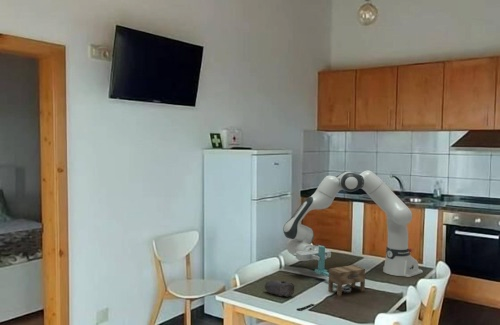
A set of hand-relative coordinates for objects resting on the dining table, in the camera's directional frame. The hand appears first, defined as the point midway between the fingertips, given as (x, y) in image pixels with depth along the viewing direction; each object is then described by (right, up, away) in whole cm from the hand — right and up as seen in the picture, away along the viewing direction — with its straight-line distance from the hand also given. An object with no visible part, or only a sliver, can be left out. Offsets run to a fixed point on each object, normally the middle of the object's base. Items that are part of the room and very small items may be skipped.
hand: (322, 258), depth 240 cm
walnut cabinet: (+9, -13, -16) cm, 22 cm away
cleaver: (-9, -14, -31) cm, 35 cm away
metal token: (+9, -13, -16) cm, 23 cm away
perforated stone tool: (-25, -13, -23) cm, 36 cm away
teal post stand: (+2, -8, -4) cm, 9 cm away
